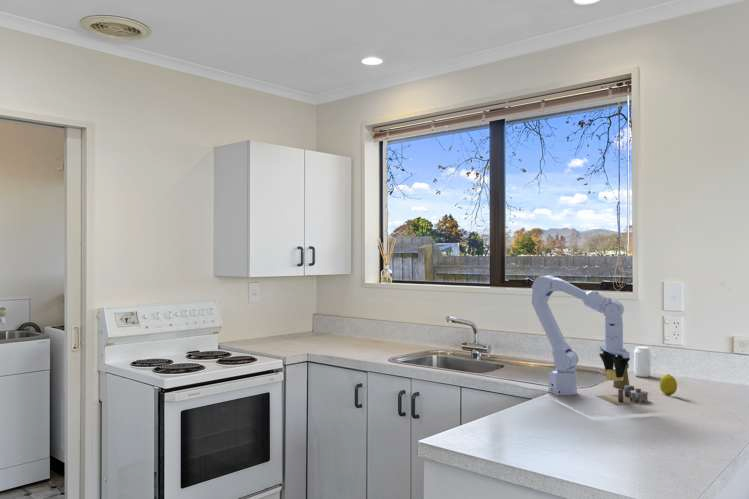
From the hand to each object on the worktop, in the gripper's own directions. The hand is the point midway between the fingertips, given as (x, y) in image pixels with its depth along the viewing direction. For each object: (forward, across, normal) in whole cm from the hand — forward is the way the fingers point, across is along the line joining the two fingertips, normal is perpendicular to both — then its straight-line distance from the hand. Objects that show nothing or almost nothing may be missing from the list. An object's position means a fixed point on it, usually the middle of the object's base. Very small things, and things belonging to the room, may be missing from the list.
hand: (614, 375), depth 208 cm
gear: (+1, 0, 0) cm, 1 cm away
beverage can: (+9, +33, -34) cm, 49 cm away
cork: (+9, +14, -12) cm, 21 cm away
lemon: (+9, +1, -22) cm, 24 cm away
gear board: (+9, -2, -2) cm, 9 cm away
